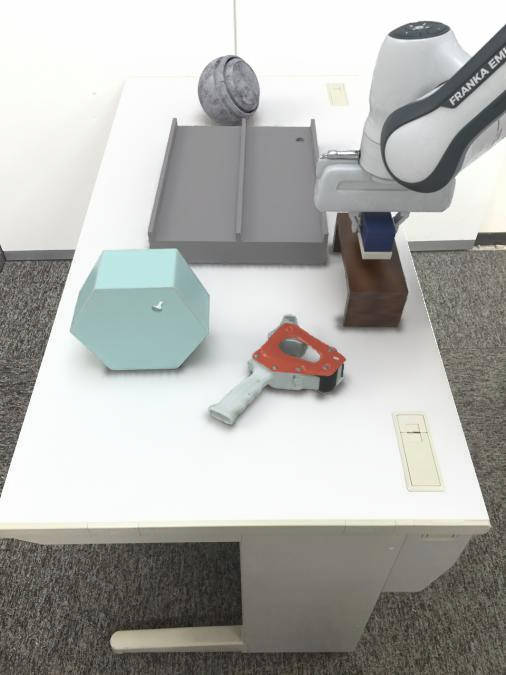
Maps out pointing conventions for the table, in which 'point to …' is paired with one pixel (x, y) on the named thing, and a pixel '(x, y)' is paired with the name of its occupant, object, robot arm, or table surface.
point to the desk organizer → (240, 196)
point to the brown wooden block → (369, 281)
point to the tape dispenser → (283, 369)
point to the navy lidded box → (376, 235)
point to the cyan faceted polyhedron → (141, 310)
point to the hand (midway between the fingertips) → (374, 230)
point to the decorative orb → (228, 90)
